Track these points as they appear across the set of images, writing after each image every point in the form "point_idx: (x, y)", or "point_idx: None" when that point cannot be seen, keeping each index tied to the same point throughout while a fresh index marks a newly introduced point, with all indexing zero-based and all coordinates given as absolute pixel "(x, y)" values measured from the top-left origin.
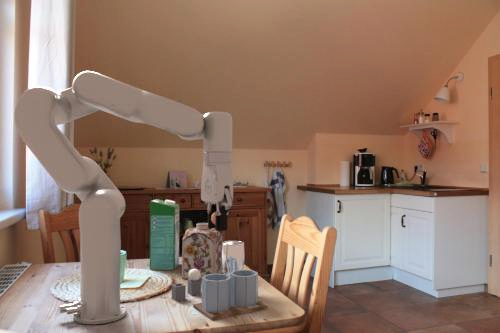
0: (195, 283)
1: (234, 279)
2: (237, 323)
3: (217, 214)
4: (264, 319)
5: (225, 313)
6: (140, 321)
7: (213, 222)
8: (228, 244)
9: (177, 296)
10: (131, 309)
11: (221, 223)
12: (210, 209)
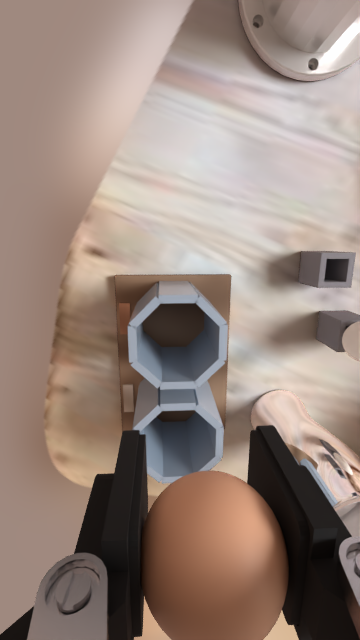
0: (335, 331)
1: (164, 397)
2: (69, 321)
3: (95, 566)
4: (63, 387)
5: (120, 317)
6: (205, 95)
7: (194, 472)
8: (337, 507)
9: (306, 257)
10: (312, 106)
11: (89, 505)
12: (355, 611)
